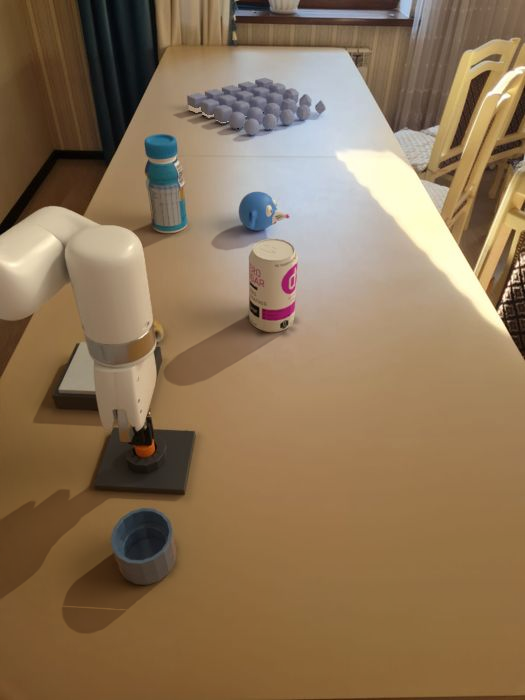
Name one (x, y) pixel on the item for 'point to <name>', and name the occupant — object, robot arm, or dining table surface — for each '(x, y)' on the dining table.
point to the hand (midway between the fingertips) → (141, 440)
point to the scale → (82, 380)
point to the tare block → (147, 464)
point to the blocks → (254, 105)
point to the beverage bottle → (165, 184)
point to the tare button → (144, 450)
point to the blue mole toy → (259, 211)
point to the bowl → (144, 546)
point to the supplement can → (272, 284)
